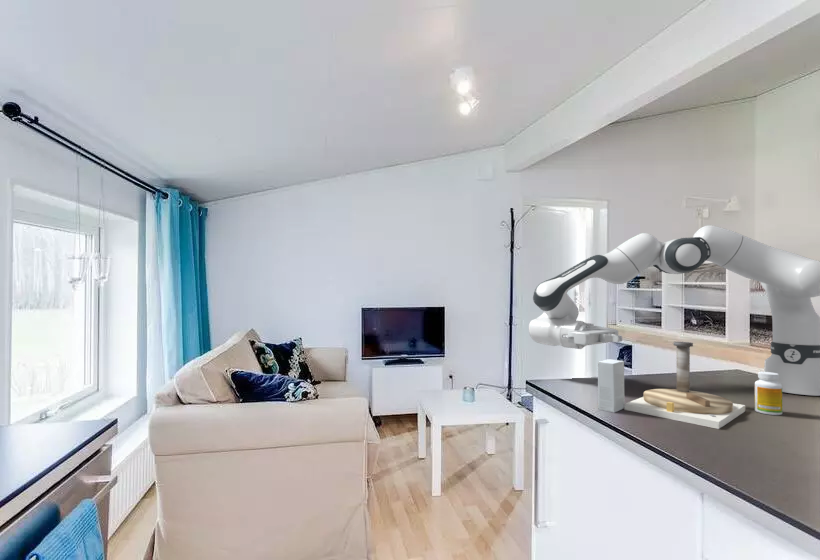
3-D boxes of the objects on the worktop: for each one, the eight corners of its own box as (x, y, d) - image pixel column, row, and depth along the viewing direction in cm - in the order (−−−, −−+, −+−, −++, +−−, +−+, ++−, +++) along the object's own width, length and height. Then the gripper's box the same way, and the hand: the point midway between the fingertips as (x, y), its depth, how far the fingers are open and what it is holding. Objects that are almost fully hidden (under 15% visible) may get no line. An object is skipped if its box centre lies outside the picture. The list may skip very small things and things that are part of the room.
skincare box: (607, 405, 118) (608, 358, 118) (624, 408, 115) (624, 360, 115) (597, 409, 114) (597, 361, 114) (614, 413, 110) (614, 363, 111)
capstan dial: (660, 391, 128) (660, 339, 128) (742, 404, 113) (742, 346, 114) (630, 402, 115) (631, 345, 115) (719, 418, 101) (719, 353, 101)
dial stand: (658, 396, 128) (658, 383, 128) (745, 411, 113) (745, 397, 113) (624, 409, 114) (624, 395, 114) (718, 428, 99) (718, 412, 99)
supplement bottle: (787, 416, 109) (787, 375, 109) (762, 414, 110) (761, 374, 110) (774, 410, 115) (774, 371, 115) (750, 409, 116) (750, 370, 116)
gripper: (558, 326, 138) (603, 329, 127) (591, 323, 151) (634, 326, 141) (558, 347, 138) (603, 352, 127) (591, 342, 151) (634, 347, 141)
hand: (620, 338), depth 134 cm, fingers closed
